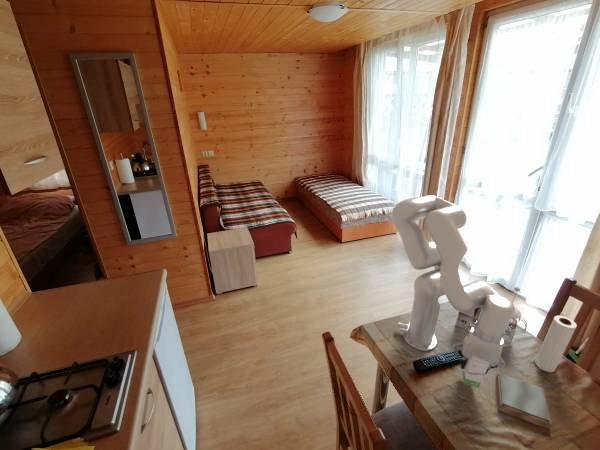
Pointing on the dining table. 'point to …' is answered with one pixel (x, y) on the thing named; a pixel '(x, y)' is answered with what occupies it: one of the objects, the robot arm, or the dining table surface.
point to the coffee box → (468, 318)
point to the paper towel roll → (555, 343)
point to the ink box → (474, 371)
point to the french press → (513, 326)
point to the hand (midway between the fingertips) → (472, 369)
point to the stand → (522, 400)
